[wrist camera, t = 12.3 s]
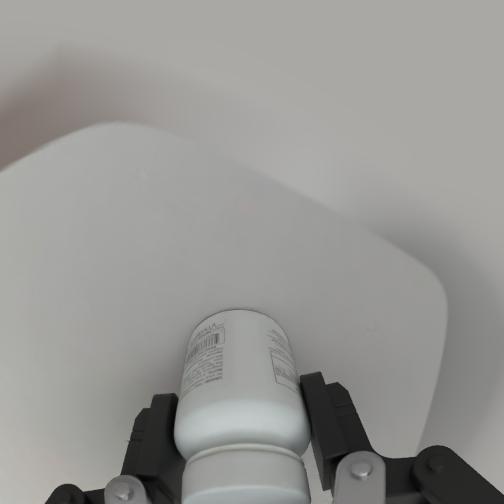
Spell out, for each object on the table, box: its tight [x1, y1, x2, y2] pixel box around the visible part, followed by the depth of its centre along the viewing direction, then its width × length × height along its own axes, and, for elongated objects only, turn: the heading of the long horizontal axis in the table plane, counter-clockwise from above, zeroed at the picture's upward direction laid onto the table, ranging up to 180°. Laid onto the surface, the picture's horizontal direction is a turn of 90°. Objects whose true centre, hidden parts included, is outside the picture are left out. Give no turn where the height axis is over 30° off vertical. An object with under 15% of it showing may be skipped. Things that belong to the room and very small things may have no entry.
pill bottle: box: [174, 310, 311, 504], centre depth 10 cm, size 4×4×8 cm
